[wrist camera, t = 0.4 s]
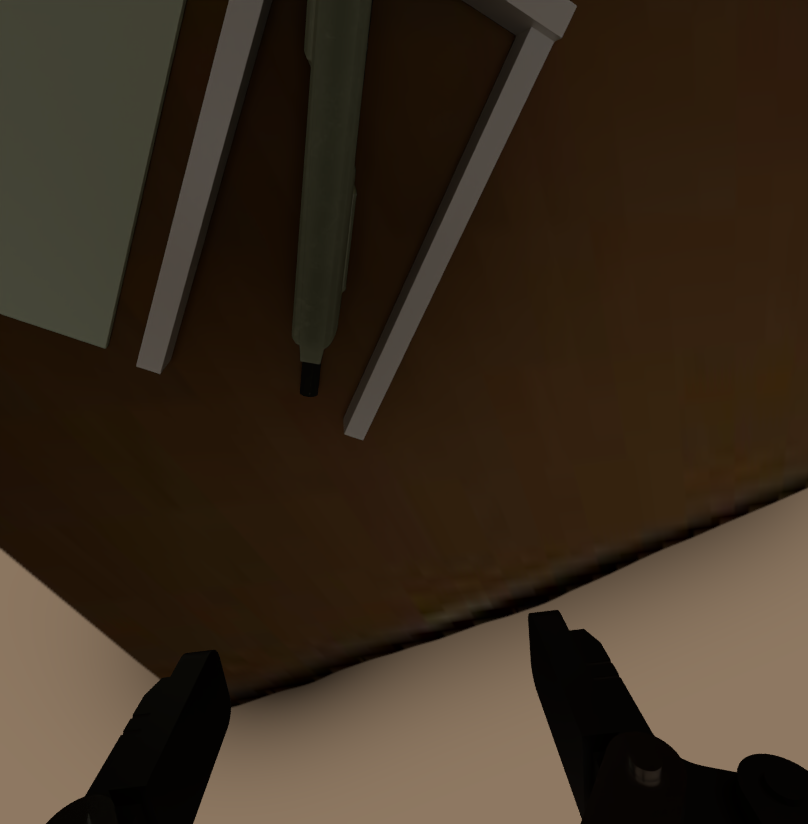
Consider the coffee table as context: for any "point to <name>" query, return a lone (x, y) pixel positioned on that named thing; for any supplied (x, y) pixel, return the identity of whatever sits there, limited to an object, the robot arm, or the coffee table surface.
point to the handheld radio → (328, 174)
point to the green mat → (76, 152)
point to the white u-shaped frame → (535, 34)
